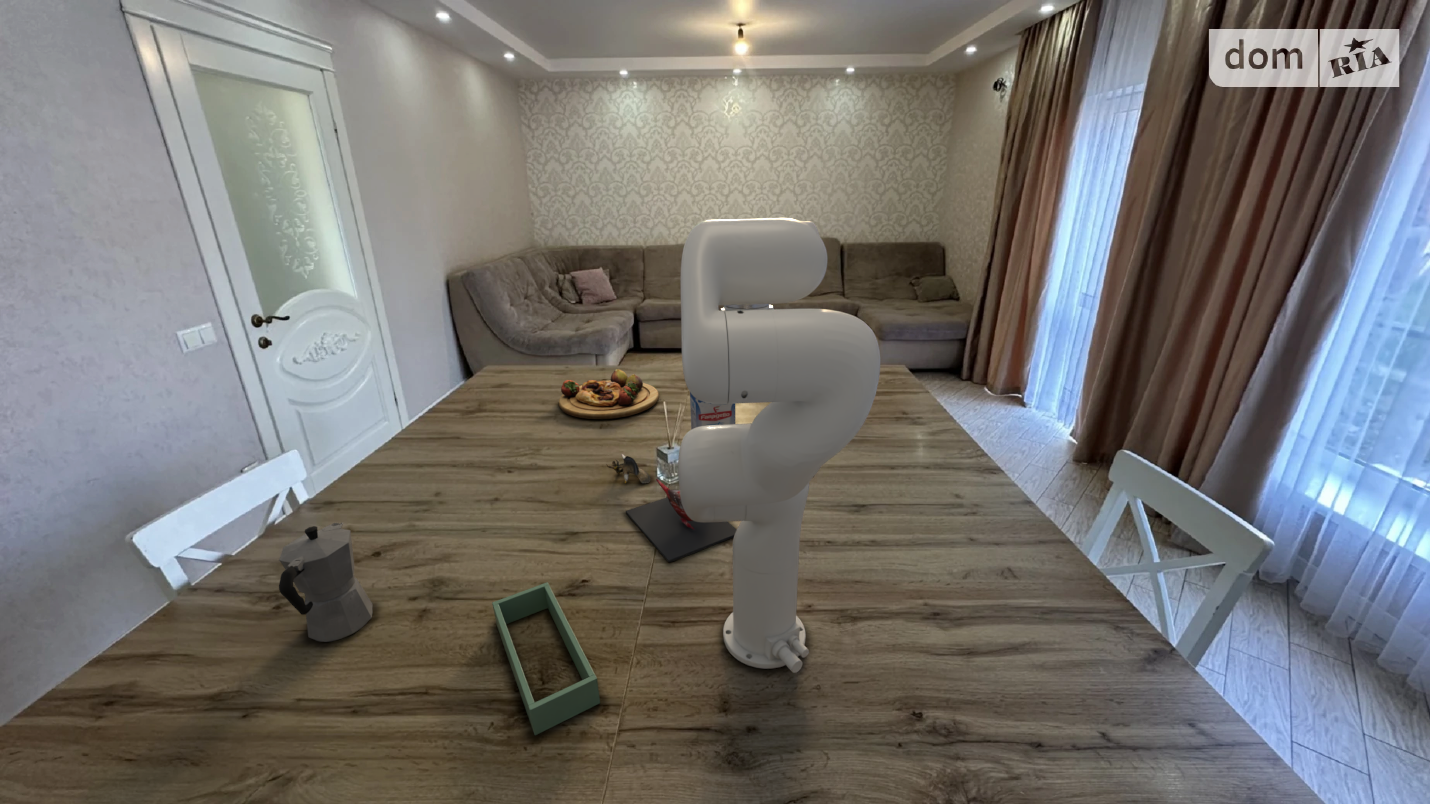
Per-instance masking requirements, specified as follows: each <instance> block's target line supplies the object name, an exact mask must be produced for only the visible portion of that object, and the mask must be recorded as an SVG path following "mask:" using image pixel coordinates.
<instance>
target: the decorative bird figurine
mask: <svg viewBox="0 0 1430 804" xmlns="http://www.w3.org/2000/svg"><path fill="white" fill-rule="evenodd" d="M655 481H656V483H657V484H658V486H660V488H661V489H662V490H663V492H664V493H665V495H666V498H667V497H668V500H669V502H670V504H671V506H672V507H673V508H674V510H675V511H676V513H677V514H678V515H679V516H680V517H681V518H680V520H682V522H683V523H684V524H685V525H686V526H687V527H690V528H692V529H694V528H693V527H691V525H690V524H689V523H688V522H687V521H693V520H691V519H690V518H689V517H688V516H687V514H686V512H685V510H684V508H683V505H682V502H681V497H680V489H670V488H668V487H667V486H666V485H665V484H664V483H663V482H662V481H661V480H659V479H658V478H655ZM686 520H687V521H686ZM694 530H695V529H694Z"/></svg>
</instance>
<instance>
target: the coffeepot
mask: <svg viewBox="0 0 1430 804" xmlns="http://www.w3.org/2000/svg"><path fill="white" fill-rule="evenodd" d="M343 526H344V522H340V523H339V522H334V523H331V524H328V525H326V526H324V527H323V528H321V529H318V526H315V525H313V526H308V527H307V528H305V529H304V534H303V535H301V536H299V537H298V538H296V539H294V540H293V541H291V542H289V543H287V544H286V545H284V546H283V547H282V550H281V552H280V556H279V559H278V561H279V562H280V564H281V565H282V567H283V568H284V570H283V571H282V573H281V574H280V579H279V584H278V591H279V593H280V594H281V595H282V596H283V597H284V598H285V599H286V600H287V602H289V604H290V605H292V607H293V608H294V609H295V610H296V611H297V612H298V613H299V614H300V615H302V616H305V617H306V626H307V636H308V638H309V639H311V640H314V641H316V642H320V643H328V642H335V641H338V640H341V639H345V638H347V637H349V636H351V635H353V634H354V633H355V634H356V633H357V632H358V631H360V630H361V629H363V628H364V627H365V626H366V625H367V624H368V622H369V621H370V620H371V619H372V618H373V606H374V605H373V602H372V600H371V599H370V598H369V596H368V594H367V592H366V591H365V589H364V588H363V586H362V583H361V582H360V580H359V579H358V578H357V577H355V559H354V551H353V540H352V532H351V530H350V529H345V528H343ZM294 585H295V586H294ZM297 590H298V591H297ZM298 592H299V593H302V594H304V598H303V597H302V596H300V594H299V593H298Z"/></svg>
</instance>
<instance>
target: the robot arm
mask: <svg viewBox="0 0 1430 804" xmlns="http://www.w3.org/2000/svg"><path fill="white" fill-rule="evenodd" d="M816 225H817V224H815V223H814V222H813V221H806V220H804V221H803V220H798V219H794V218H790V217H763V218H735V219H734V218H733V219H732V218H730V219H729V218H728V219H706V220H703V221H701V222H699V223H697V224H696V225H695V226H693V227H692V229H691V230H690V232H689V233H688V235H687V237H686V239H685V242H684V245H683V249H682V254H681V261H680V281H679V282H680V311H681V312H680V320H681V321H680V322H681V323H680V327H681V331H680V332H681V333H680V334H681V364H682V366H681V367H682V373H683V379H684V382H685V385H686V387H687V389H688V391H689V394H690V393H691V394H692V395H693V396H694V397H695V398H697V399H698V400H700V401H703V402H706V403H712V404H735V405H737V404H758V403H759V404H761V403H763V404H764V403H769V404H767V405H766V406H765V407H764V408H762V409H761V410H760V412H759V413H757V415H756V416H755V417H754V419H753V421H752V422H749V423H748V422H747V423H735V424H725V425H707V426H700V427H696V428H694V429H692V430H691V429H690V430H689V431H687V432H686V433H685V434H684V436H683V437H682V440H681V443H680V445H679V450H678V459H677V476H678V487H679V488H678V490H680V497H681V502H682V505H683V508H684V510H685V512H686V514H687V516H688V517H689V518H690V519H691V520H693V521H696V522H729V523H730V522H739V524H738V526H737V528H736V529H737V530H736V533H735V535H734V537H733V538H732V539H733V540H732V612H731V613H730V614H729V615H728V617H727V618H726V620H725V622H724V624H723V627H722V635H723V643H724V645H725V648H726V649H727V651H728V652H729V654H731V655H732V657H733V658H734V659H736V660H737V661H739V662H740V663H742V664H745V665H746V666H748V667H753V668H756V669H767V670H769V669H776V668H781V667H784V666H786V667H787V668H788V669H789V670H790V671H791V672H792V673H793V674H796V673H798V672H799V671H801V669H802V668H803V663H804V662H803V661H802V660H801V659H800V658H799V656H800V657H801V658H803V659H804V658H807V657H808V655H809V654H810V650H809V648H808V647H806V639H807V638H806V637H807V636H806V635H807V634H806V629H805V625H804V623H803V622H802V620H801V619H800V618H799V616H798V615H797V607H798V606H797V605H798V584H799V563H800V547H801V546H800V545H801V544H800V543H801V531H802V524H803V518H804V514H805V509H806V504H807V501H808V496H809V491H810V482H811V481H812V479H813V478H814V477H815V476H816V475H817V474H818V472H819V470H820V469H821V468H822V466H823V465H825V464H826V463H827V462H829V461H830V460H832V459H833V458H834V457H835V456H836V455H838V454H839V453H840V452H841V451H842V450H843V449H845V447H846V446H847V445H848V444H850V442H851V441H852V440H853V439H854V438H855V437H856V436H857V434H858V433H859V432H860V430H861V429H862V427H863V426H864V424H865V423H866V420H867V419H868V416H869V415H870V412H871V409H872V407H873V404H874V401H875V398H876V395H877V390H878V386H879V380H880V375H881V351H880V345H879V341H878V338H877V337H876V334H875V332H874V331H873V329H872V328H871V327H870V326H869V325H868V324H867V323H866V322H865V321H863V320H862V319H861V318H859V317H857V316H855V315H852V314H850V313H846V312H843V311H841V310H840V311H839V310H833V309H828V308H827V309H826V308H775V309H774V306H773V305H776V304H777V305H778V304H788V303H793V302H796V301H799V300H802V299H804V298H806V297H808V296H810V295H811V294H812V293H813V292H814V291H815V290H816V289H817V288H818V287H819V285H821V283H822V281H823V280H824V278H825V275H826V272H827V269H828V251H827V248H826V245H825V243H824V241H823V239H822V237H821V235H820V233H819V230H818V227H817V226H816ZM719 306H723V307H721V308H719Z"/></svg>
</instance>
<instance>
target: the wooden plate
mask: <svg viewBox="0 0 1430 804" xmlns="http://www.w3.org/2000/svg"><path fill="white" fill-rule="evenodd" d="M560 392H561V394H562V395H561V396H560V398H559V399H558V406H559V408H560V410H561V411H562V412H563V413H565V414H567V415H569V416H571V417H575V418H580V419H585V420H586V419H588V420H609V419H611V420H612V419H618V418H625V417H630V416H633V415H637V414H639V413H642V412H644V411H646V410H649V409H651V408H652V407H653V406H654V405H656V404H657V402H658V401H659V398H660V393H659V391H658V389H656V387H654V386H653V385H651V384H648V383H645V382H643V380H642V378H641V377H640V376H638V375H636V374H635V373H633V374H631V375H629V376H628V375H627V373H626V372H625V371H623V370H622V369H620V368H616V369H614V371H612V374H611V375H610V379H609V380H598V381H597V380H595V379H594V380H593V379H590V380H587V381H586V382H583V383H582V384H581V385H579V383H577V382H576V381H574V380H571V379H566V380H565V381H563V383H562V385H561V388H560Z"/></svg>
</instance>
